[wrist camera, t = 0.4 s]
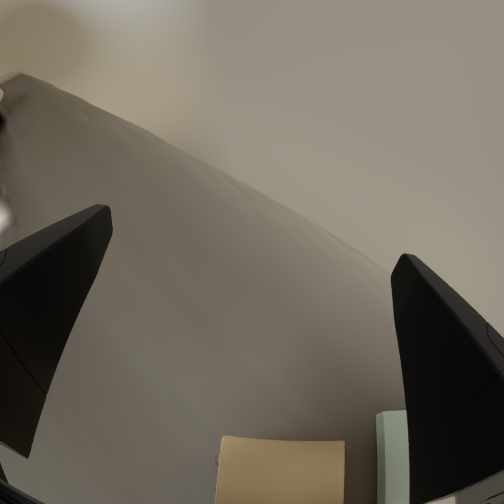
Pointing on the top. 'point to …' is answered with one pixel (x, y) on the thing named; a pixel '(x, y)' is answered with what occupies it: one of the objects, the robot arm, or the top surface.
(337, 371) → the top surface
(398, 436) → the sage board
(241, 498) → the maple stool
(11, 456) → the top surface
